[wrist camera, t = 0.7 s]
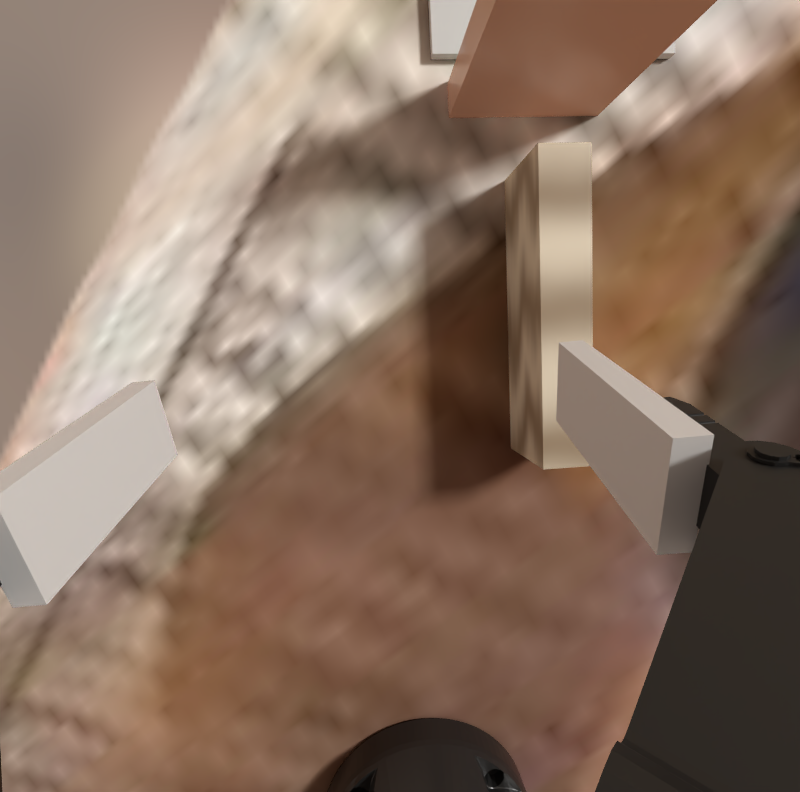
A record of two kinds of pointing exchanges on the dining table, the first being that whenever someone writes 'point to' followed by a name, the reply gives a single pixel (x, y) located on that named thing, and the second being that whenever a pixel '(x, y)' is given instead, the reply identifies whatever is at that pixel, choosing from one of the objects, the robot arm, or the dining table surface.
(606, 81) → the tile
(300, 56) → the dining table surface
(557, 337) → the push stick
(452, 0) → the mat
